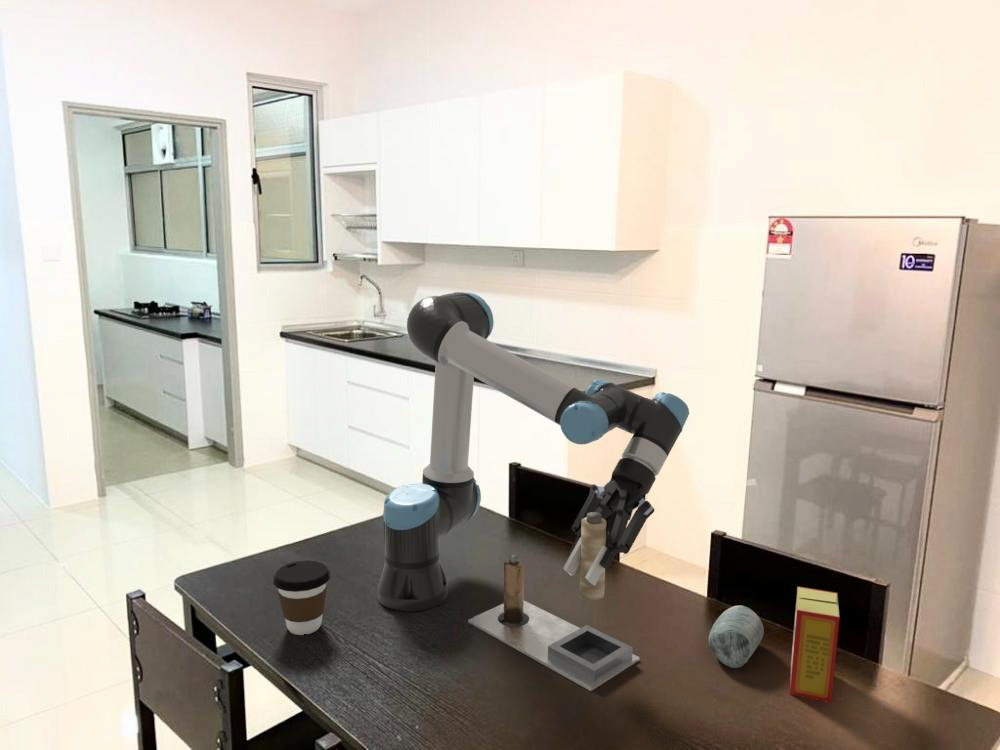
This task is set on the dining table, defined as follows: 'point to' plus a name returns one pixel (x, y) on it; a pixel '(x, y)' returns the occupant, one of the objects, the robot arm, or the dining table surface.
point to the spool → (736, 636)
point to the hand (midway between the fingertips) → (578, 576)
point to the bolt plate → (552, 636)
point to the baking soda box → (814, 643)
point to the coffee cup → (302, 594)
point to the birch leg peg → (592, 554)
